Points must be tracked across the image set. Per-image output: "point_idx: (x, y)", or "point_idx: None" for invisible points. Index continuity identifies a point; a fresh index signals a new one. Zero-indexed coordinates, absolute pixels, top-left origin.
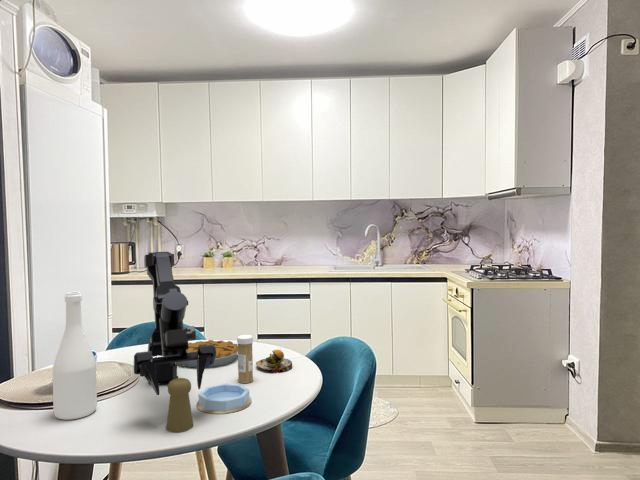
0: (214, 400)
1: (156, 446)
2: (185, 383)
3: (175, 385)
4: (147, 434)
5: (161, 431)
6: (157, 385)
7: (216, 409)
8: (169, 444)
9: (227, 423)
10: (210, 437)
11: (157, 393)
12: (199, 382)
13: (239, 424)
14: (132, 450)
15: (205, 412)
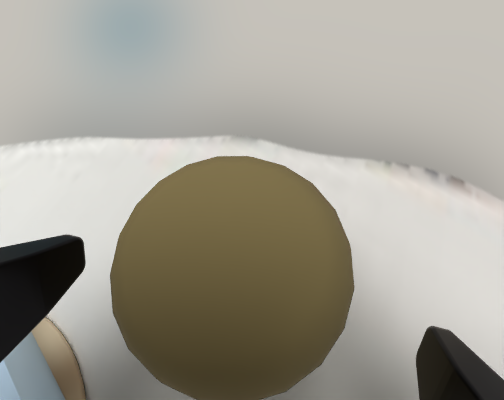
0: (4, 374)
1: (399, 195)
2: (201, 161)
3: (301, 177)
4: (417, 330)
5: (349, 319)
6: (480, 381)
7: (39, 357)
8: (350, 183)
9: (98, 216)
10: (209, 152)
11: (446, 331)
12: (39, 247)
13: (76, 183)
14: (494, 217)
15: (85, 396)
